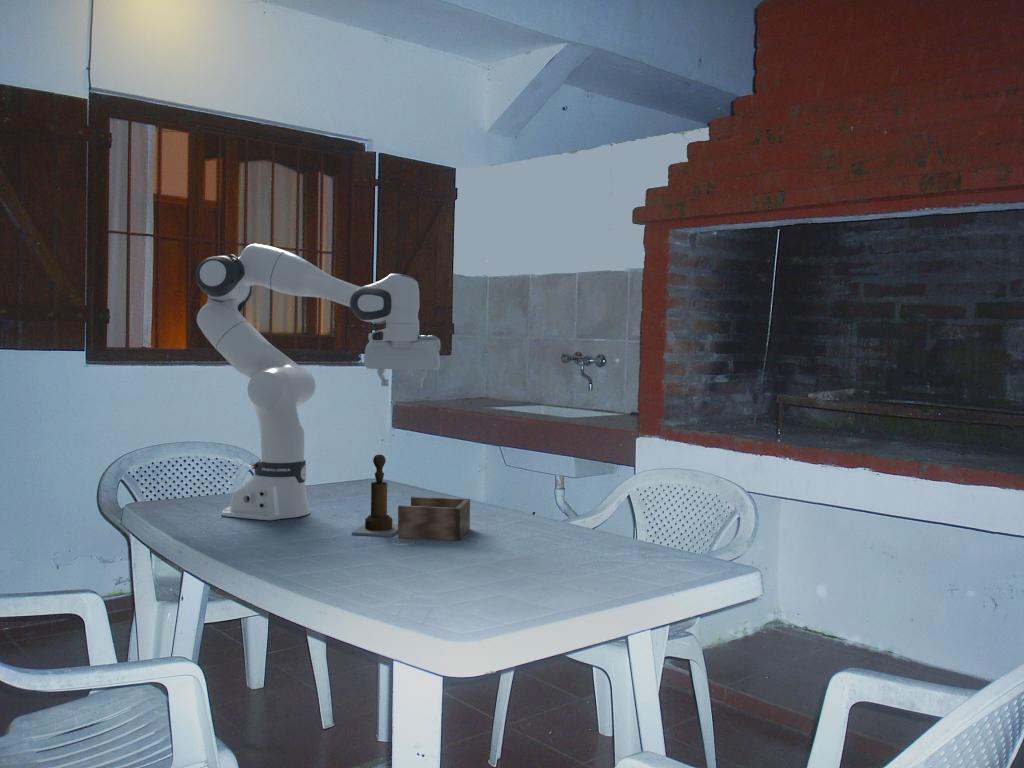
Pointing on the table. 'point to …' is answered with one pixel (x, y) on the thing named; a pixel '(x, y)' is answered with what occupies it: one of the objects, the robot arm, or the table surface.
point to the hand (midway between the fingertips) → (402, 386)
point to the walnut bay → (434, 518)
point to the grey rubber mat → (376, 531)
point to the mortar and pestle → (378, 500)
